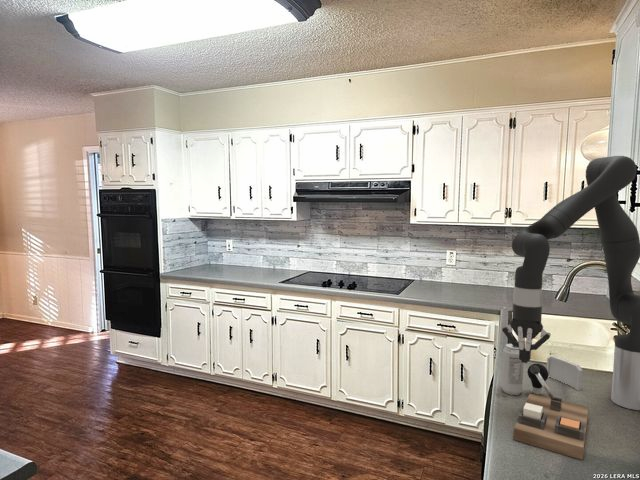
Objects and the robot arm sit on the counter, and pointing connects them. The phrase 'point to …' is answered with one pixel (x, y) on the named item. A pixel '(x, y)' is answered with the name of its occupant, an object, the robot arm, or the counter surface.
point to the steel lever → (541, 381)
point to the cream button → (533, 411)
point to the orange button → (570, 423)
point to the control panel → (553, 426)
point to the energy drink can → (512, 370)
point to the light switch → (565, 371)
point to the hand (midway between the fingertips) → (524, 362)
